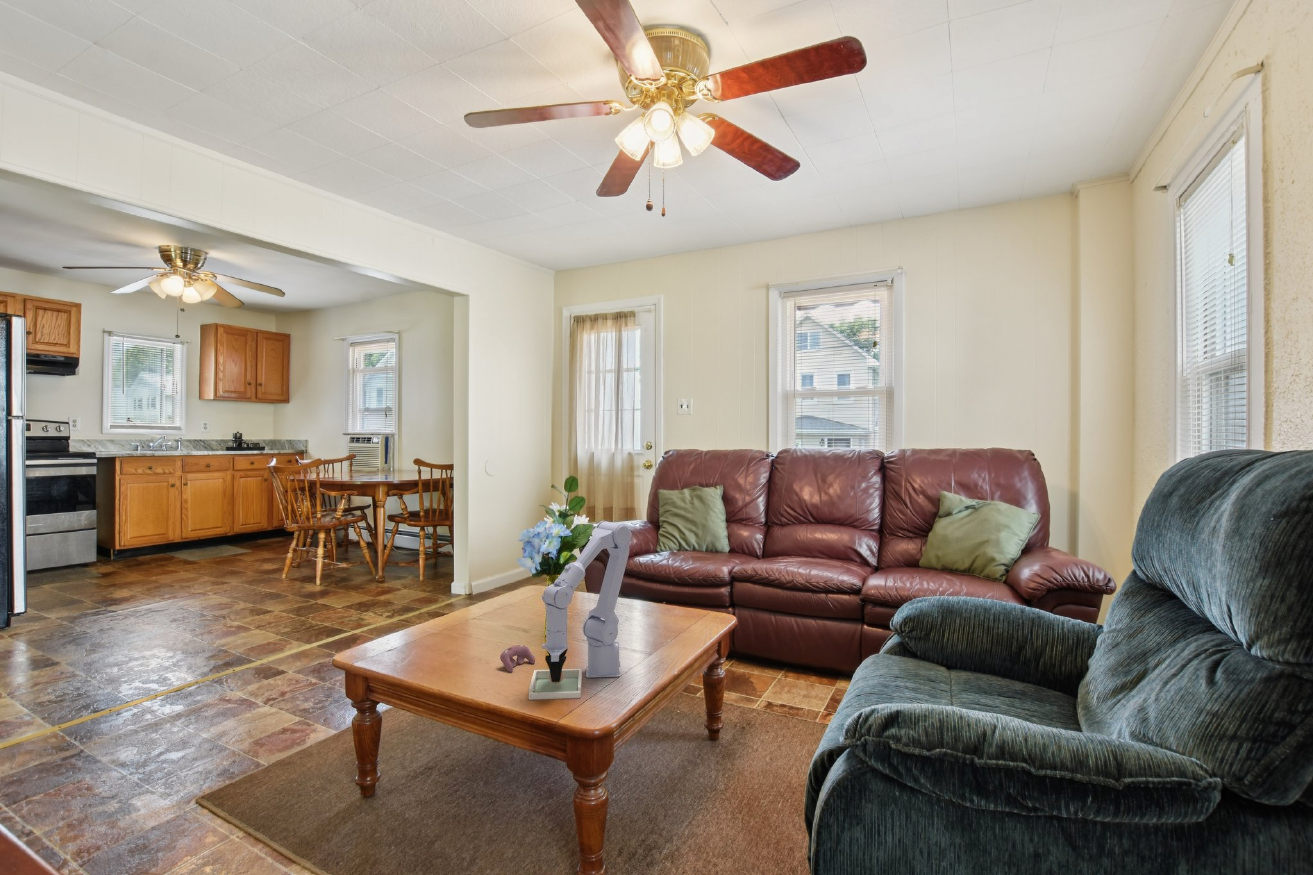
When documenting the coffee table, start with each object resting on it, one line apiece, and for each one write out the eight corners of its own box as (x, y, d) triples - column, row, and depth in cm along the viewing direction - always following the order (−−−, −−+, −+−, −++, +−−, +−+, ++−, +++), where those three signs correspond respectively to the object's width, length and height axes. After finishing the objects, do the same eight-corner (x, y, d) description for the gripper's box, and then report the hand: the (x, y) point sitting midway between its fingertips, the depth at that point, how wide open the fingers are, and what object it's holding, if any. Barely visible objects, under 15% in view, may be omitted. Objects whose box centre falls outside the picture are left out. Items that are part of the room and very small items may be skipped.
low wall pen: (581, 677, 175) (582, 668, 175) (580, 697, 162) (580, 688, 161) (534, 678, 174) (534, 670, 174) (528, 699, 160) (528, 690, 160)
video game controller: (528, 665, 188) (522, 643, 190) (537, 662, 185) (530, 639, 187) (502, 675, 180) (495, 652, 182) (511, 672, 177) (504, 648, 179)
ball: (564, 679, 170) (564, 665, 170) (563, 685, 166) (563, 671, 166) (549, 680, 169) (549, 666, 169) (548, 686, 165) (548, 671, 165)
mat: (577, 679, 174) (577, 677, 174) (576, 696, 162) (576, 695, 162) (537, 680, 173) (537, 679, 173) (533, 697, 161) (533, 696, 161)
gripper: (544, 621, 174) (544, 668, 174) (539, 638, 160) (539, 689, 160) (569, 620, 175) (568, 667, 175) (566, 637, 161) (566, 688, 161)
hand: (556, 678), depth 168 cm, fingers closed on ball, 4 cm apart
